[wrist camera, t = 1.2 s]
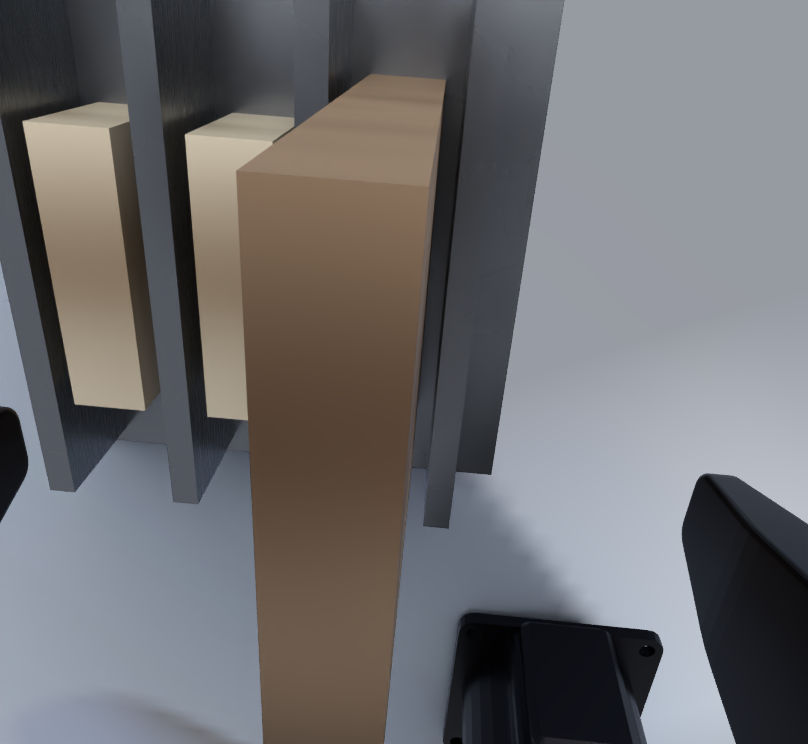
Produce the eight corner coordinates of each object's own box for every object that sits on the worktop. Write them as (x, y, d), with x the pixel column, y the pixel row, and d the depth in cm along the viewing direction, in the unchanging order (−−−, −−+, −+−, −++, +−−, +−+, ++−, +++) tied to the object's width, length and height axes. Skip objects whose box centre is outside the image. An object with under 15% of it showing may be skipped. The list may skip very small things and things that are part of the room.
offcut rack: (490, 462, 20) (496, 549, 16) (77, 423, 20) (5, 501, 17) (563, -21, 14) (595, -31, 11) (-13, -63, 14) (-147, -84, 11)
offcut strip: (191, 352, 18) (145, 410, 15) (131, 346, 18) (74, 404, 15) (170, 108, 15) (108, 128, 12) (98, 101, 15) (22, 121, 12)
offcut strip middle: (305, 361, 18) (278, 423, 15) (244, 357, 18) (207, 416, 15) (305, 118, 15) (272, 140, 12) (233, 112, 15) (184, 134, 12)
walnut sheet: (417, 405, 18) (380, 778, 9) (357, 400, 18) (264, 764, 9) (446, 80, 14) (428, 187, 6) (370, 73, 14) (235, 170, 6)
